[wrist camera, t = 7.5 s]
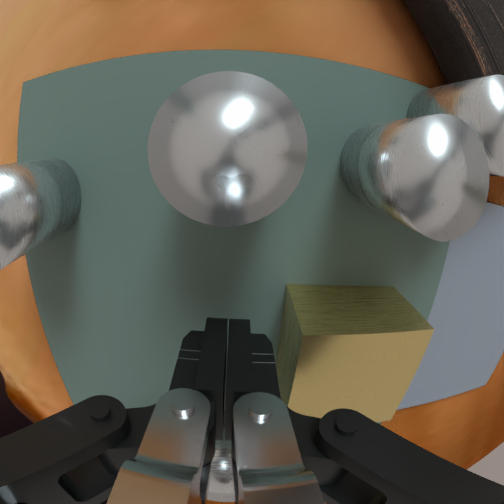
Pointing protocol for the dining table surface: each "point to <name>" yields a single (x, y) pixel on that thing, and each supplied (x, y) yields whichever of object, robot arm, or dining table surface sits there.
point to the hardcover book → (463, 36)
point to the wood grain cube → (348, 349)
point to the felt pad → (465, 315)
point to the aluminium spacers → (283, 169)
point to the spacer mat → (191, 231)
